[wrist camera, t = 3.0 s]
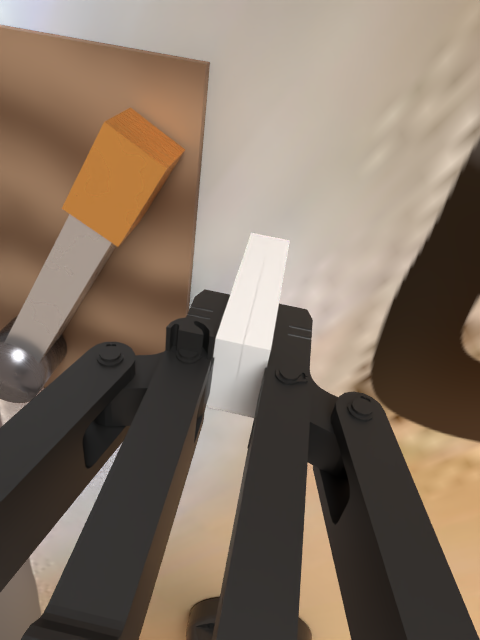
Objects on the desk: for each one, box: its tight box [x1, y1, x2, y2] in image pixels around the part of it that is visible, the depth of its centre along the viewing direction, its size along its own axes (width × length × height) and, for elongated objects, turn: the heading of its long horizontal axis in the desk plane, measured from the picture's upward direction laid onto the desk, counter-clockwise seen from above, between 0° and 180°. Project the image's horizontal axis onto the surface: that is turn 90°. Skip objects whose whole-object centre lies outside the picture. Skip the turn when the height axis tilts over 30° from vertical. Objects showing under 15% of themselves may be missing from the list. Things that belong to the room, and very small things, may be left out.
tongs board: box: [0, 25, 210, 388], centre depth 27 cm, size 24×18×4 cm
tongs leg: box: [0, 107, 185, 403], centre depth 26 cm, size 20×4×4 cm, turn 144°
